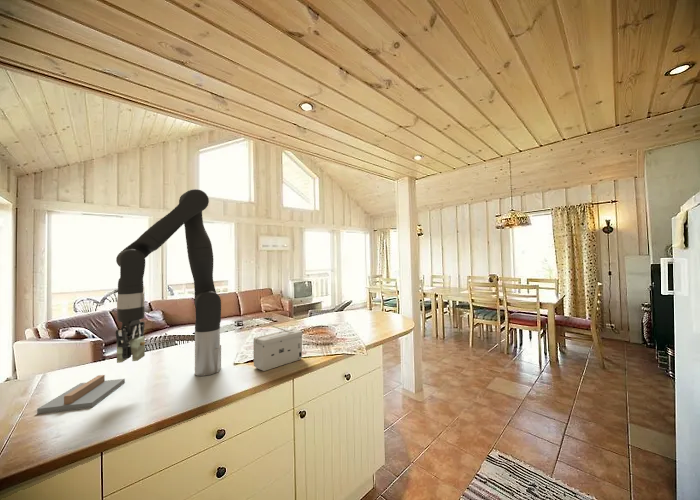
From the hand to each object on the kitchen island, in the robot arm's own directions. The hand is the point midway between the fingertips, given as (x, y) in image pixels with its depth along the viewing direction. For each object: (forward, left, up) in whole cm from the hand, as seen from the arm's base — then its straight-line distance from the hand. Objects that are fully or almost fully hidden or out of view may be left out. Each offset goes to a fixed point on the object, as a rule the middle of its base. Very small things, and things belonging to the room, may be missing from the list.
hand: (131, 355), depth 95 cm
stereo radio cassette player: (-50, -15, -14) cm, 54 cm away
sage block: (0, 0, -1) cm, 1 cm away
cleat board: (+14, -2, -13) cm, 20 cm away
